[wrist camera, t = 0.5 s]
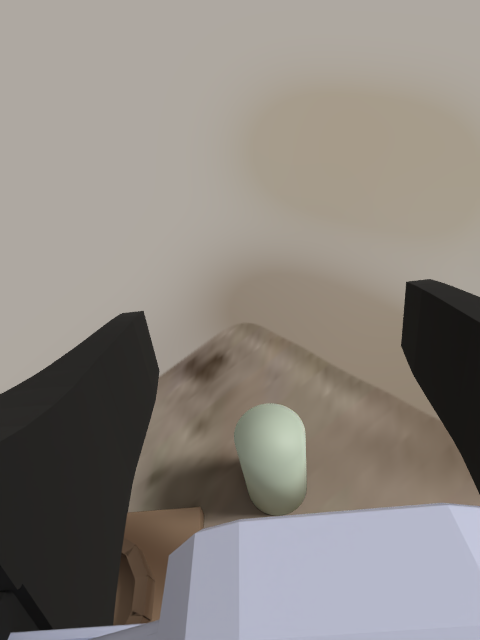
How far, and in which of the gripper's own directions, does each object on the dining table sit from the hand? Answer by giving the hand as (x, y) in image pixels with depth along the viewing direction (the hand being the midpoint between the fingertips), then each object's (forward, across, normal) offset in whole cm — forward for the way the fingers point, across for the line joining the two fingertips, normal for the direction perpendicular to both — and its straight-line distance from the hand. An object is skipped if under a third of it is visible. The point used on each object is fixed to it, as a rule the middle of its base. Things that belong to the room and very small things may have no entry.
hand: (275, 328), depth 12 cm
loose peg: (+9, +1, +18) cm, 20 cm away
